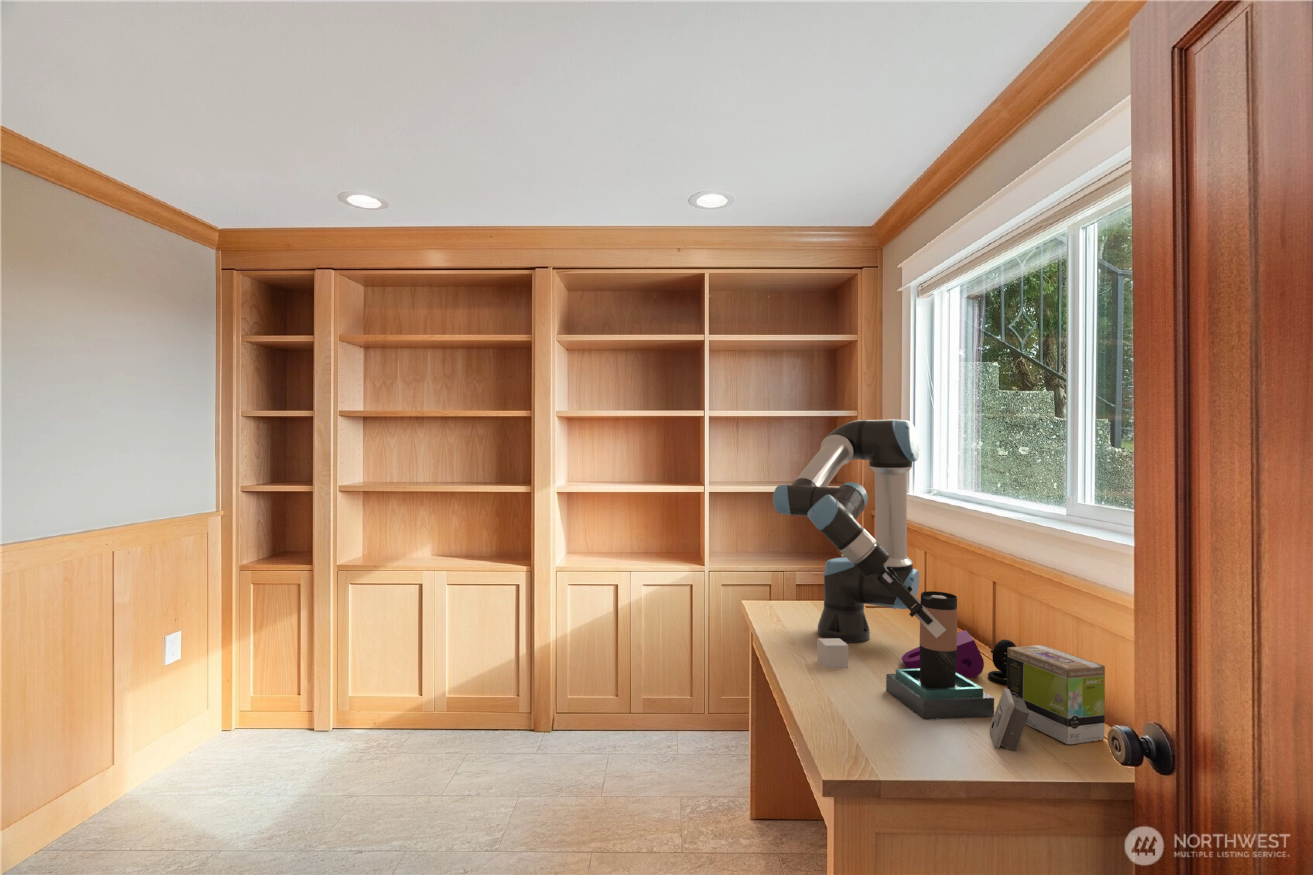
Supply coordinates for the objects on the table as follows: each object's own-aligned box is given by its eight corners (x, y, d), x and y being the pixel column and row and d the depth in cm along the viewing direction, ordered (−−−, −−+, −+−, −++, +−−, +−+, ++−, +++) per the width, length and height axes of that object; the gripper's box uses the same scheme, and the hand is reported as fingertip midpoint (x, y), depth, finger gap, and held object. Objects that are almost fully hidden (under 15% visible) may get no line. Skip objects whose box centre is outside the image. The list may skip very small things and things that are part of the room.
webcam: (1008, 688, 156) (1009, 646, 156) (980, 678, 163) (981, 637, 163) (1029, 683, 160) (1029, 642, 160) (1000, 673, 166) (1001, 633, 167)
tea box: (1106, 740, 129) (1107, 665, 129) (1066, 746, 126) (1067, 669, 126) (1041, 710, 143) (1042, 642, 143) (1004, 715, 140) (1005, 645, 140)
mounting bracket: (918, 696, 166) (989, 672, 162) (903, 665, 167) (973, 639, 163) (913, 683, 175) (980, 660, 171) (899, 653, 176) (965, 629, 172)
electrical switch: (989, 729, 133) (994, 684, 132) (1018, 737, 131) (1023, 691, 130) (993, 749, 124) (999, 701, 124) (1024, 757, 122) (1030, 708, 122)
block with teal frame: (886, 691, 153) (886, 667, 153) (950, 688, 155) (950, 665, 155) (923, 719, 137) (923, 693, 137) (993, 716, 139) (994, 690, 139)
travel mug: (954, 681, 148) (955, 592, 149) (958, 693, 141) (959, 600, 141) (918, 677, 151) (919, 589, 151) (919, 688, 144) (921, 596, 144)
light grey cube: (825, 669, 168) (825, 645, 168) (817, 661, 174) (817, 638, 174) (848, 668, 168) (848, 645, 168) (839, 660, 174) (839, 638, 174)
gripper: (848, 555, 162) (911, 621, 159) (857, 575, 137) (933, 653, 134) (870, 535, 161) (935, 600, 158) (885, 551, 136) (961, 629, 133)
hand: (934, 625), depth 146 cm, fingers open, 13 cm apart
